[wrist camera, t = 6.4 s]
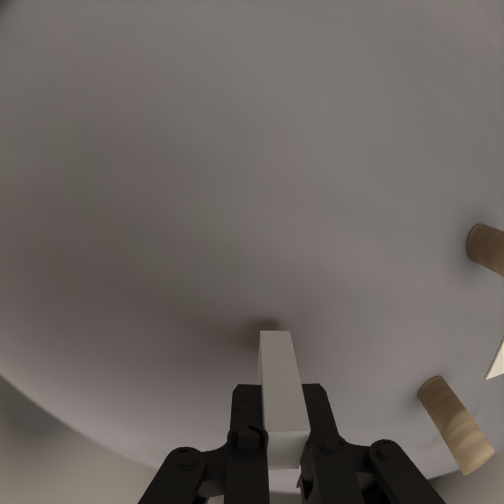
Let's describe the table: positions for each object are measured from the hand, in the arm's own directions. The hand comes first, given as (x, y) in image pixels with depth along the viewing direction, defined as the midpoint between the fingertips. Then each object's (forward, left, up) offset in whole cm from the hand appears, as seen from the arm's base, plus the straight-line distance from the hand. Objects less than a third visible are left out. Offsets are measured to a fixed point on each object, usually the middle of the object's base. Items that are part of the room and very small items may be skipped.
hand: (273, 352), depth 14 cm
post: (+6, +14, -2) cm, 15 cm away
